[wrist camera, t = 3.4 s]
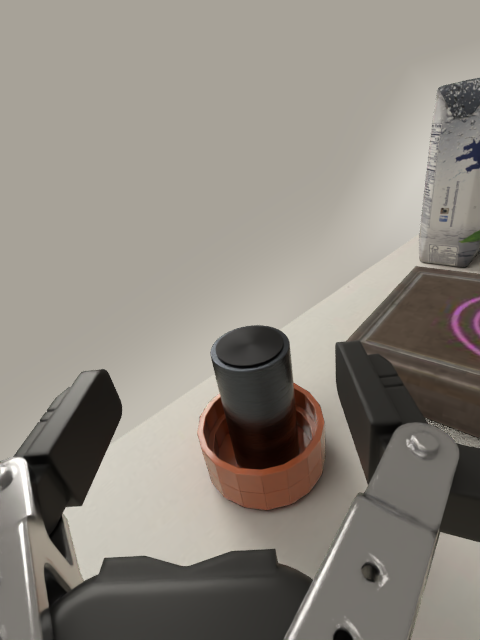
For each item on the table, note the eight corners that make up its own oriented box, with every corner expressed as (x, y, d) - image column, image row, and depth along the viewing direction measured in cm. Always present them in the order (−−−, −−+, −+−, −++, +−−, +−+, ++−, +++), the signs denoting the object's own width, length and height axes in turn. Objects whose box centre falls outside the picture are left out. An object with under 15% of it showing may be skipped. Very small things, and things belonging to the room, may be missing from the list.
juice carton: (411, 263, 58) (431, 75, 45) (433, 244, 64) (456, 73, 51) (470, 272, 53) (514, 58, 39) (488, 250, 58) (531, 58, 45)
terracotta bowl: (187, 494, 27) (174, 457, 25) (234, 405, 35) (227, 371, 33) (312, 532, 23) (308, 492, 21) (333, 422, 31) (332, 385, 29)
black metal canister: (224, 470, 28) (195, 363, 22) (248, 420, 32) (228, 321, 27) (290, 487, 26) (275, 374, 20) (305, 431, 30) (297, 326, 25)
